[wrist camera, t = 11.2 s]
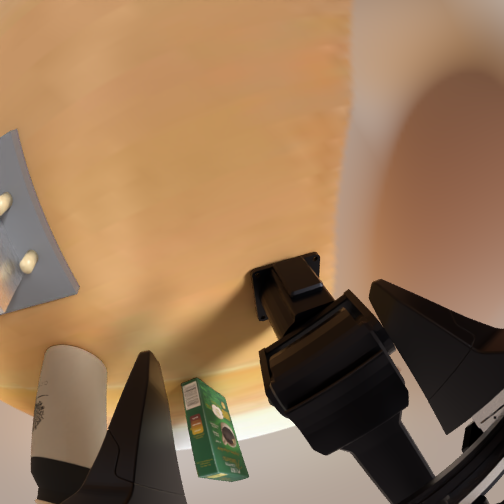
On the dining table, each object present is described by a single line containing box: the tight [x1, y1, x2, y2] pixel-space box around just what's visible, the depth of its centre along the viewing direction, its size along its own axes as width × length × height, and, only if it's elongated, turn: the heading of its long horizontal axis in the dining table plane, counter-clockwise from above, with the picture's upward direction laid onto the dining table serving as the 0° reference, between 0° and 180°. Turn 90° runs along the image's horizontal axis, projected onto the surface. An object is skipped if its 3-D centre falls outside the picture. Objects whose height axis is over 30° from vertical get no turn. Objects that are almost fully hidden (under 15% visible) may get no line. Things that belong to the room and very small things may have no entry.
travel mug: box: [31, 345, 107, 504], centre depth 17 cm, size 8×8×18 cm
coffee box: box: [181, 378, 249, 482], centre depth 27 cm, size 8×3×13 cm, turn 23°
